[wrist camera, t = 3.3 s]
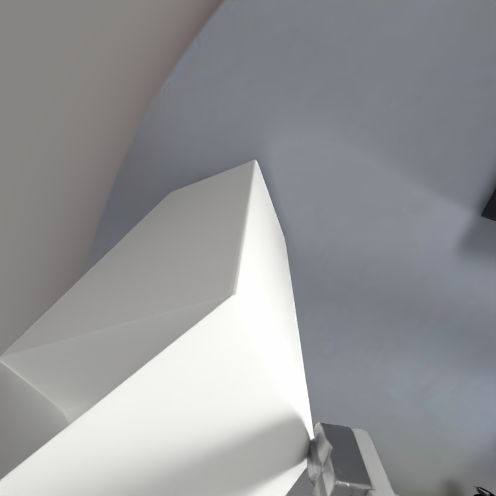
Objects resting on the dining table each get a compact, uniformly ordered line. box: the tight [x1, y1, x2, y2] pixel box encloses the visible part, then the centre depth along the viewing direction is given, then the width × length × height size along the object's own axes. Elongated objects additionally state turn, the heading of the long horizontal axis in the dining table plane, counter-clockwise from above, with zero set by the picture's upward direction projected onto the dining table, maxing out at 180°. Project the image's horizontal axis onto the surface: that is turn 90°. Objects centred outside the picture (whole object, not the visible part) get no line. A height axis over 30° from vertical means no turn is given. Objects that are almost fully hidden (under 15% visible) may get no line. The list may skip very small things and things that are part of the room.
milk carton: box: [0, 160, 314, 496], centre depth 13 cm, size 7×7×19 cm
